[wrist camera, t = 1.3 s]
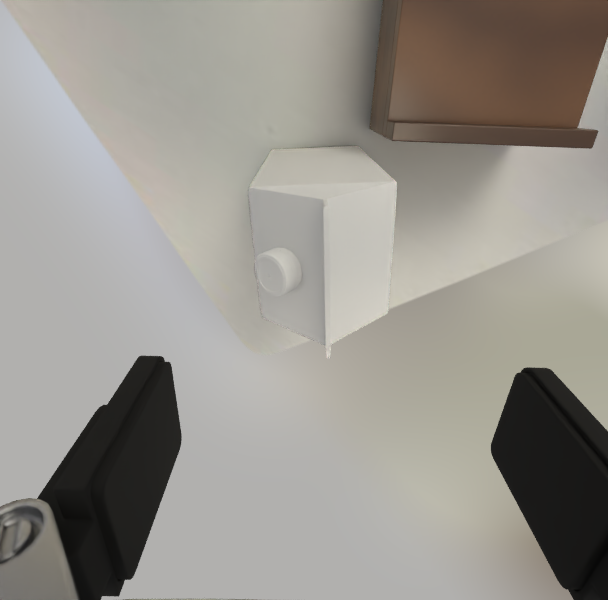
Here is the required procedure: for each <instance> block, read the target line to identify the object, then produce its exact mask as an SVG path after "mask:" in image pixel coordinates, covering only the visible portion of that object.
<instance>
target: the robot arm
mask: <svg viewBox="0 0 608 600" xmlns="http://www.w3.org/2000/svg"><path fill="white" fill-rule="evenodd" d="M180 446H181V429H180V422H179V415H178V408H177V401H176V394H175V389H174V381H173V374H172V367H171V364H170V362H165V361H164V358H163V357H161V356H139V357H138V359H137V360H136V362H135V363H134V365H133V367H132V368H131V369H130V371H129V372H128V374H127V375H126V377H125V379H124V380H123V382H122V383H121V385H120V386H119V388H118V389H117V391H116V392H115V394H114V395H113V397H112V398H111V400H110V401H109V403H108V404H107V405H103V406H101V407H99V409H98V410H97V411H96V412H95V414H94V415H93V417H92V418H91V420H90V421H89V423H88V424H87V426H86V427H85V429H84V430H83V431H82V433H81V434H80V436H79V437H78V439H77V440H76V442H75V443H74V445H73V446H72V448H71V449H70V451H69V452H68V454H67V455H66V457H65V458H64V460H63V461H62V463H61V464H60V465H59V467H58V468H57V470H56V471H55V473H54V474H53V476H52V477H51V479H50V480H49V482H48V483H47V485H46V486H45V488H44V489H43V491H42V492H41V494H40V495H39V497H38V498H37V499H32V498H28V499H21V500H16V501H13V502H11V503H8V504H5V505H3V506H1V507H0V600H101V597H102V596H119V594H120V592H121V589H122V586H123V584H124V581H125V580H127V579H128V580H130V579H132V577H133V576H134V574H135V571H136V569H137V566H138V563H139V560H140V557H141V555H142V552H143V550H144V547H145V544H146V541H147V538H148V536H149V533H150V530H151V527H152V524H153V522H154V519H155V516H156V513H157V511H158V508H159V505H160V502H161V500H162V497H163V494H164V491H165V489H166V486H167V483H168V480H169V477H170V475H171V472H172V469H173V466H174V463H175V461H176V458H177V455H178V452H179V450H180ZM491 453H492V456H493V459H494V461H495V462H496V464H497V466H498V468H499V470H500V472H501V474H502V475H503V478H504V479H505V481H506V483H507V485H508V487H509V489H510V490H511V493H512V495H513V496H514V498H515V500H516V502H517V504H518V506H519V508H520V510H521V512H522V513H523V515H524V517H525V519H526V521H527V523H528V525H529V527H530V529H531V530H532V532H533V534H534V536H535V538H536V540H537V542H538V544H539V546H540V547H541V549H542V551H543V553H544V555H545V557H546V559H547V561H548V563H549V564H550V566H551V568H552V570H553V572H554V574H555V576H556V578H557V580H558V581H559V583H560V584H561V585H562V587H563V588H565V589H568V590H569V592H570V594H571V595H572V597H573V599H574V600H608V431H607V430H606V429H605V428H604V427H603V426H602V425H601V424H600V422H599V421H598V420H596V418H595V417H594V416H593V415H592V414H591V413H590V412H589V411H588V409H587V408H586V407H585V406H584V405H583V404H582V403H581V402H580V401H579V400H578V399H577V397H576V396H575V395H574V394H573V393H572V392H571V391H570V390H569V389H568V388H567V387H566V385H565V384H564V383H563V382H562V381H561V380H560V379H559V378H558V377H557V376H556V375H555V374H554V372H553V371H551V370H550V369H547V368H524V369H523V370H522V371H521V373H517V374H516V375H515V377H514V380H513V384H512V386H511V389H510V392H509V395H508V397H507V400H506V403H505V406H504V409H503V412H502V415H501V417H500V421H499V423H498V426H497V429H496V432H495V434H494V437H493V440H492V443H491ZM126 600H250V599H126ZM251 600H254V599H251Z"/></svg>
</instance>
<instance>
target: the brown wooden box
mask: <svg viewBox="0 0 608 600" xmlns="http://www.w3.org/2000/svg"><path fill="white" fill-rule="evenodd" d="M607 37H608V0H383V3H382V13H381V22H380V32H379V41H378V51H377V61H376V70H375V80H374V89H373V99H372V109H371V118H370V129H371V130H373V131H374V132H376V133H378V134H380V135H382V136H384V137H386V138H388V139H390V140H392V141H410V142H436V143H462V144H488V145H514V146H540V147H566V148H592V147H593V145H594V142H595V139H596V136H597V133H598V130H591V129H582V128H577V127H578V124H579V121H580V118H581V115H582V112H583V109H584V106H585V103H586V100H587V97H588V94H589V91H590V88H591V85H592V82H593V79H594V76H595V73H596V70H597V67H598V64H599V61H600V58H601V55H602V52H603V49H604V46H605V43H606V40H607Z"/></svg>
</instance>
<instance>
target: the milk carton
mask: <svg viewBox="0 0 608 600" xmlns="http://www.w3.org/2000/svg"><path fill="white" fill-rule="evenodd" d="M396 196H397V181H395V180H394V179H393V178H392V177H391V176H390V175H388V174H387V173H386V172H385V171H384V170H383V169H382V168H381V167H380V166H379V165H378V164H377V163H376V162H375V161H374V160H373V159H371V158H370V157H369V156H368V155H367V154H366V153H365V152H364V151H363V150H362V149H361V148H360V147H359V146H338V147H315V148H292V149H272V150H271V151H270V153H269V155H268V156H267V158H266V159H265V161H264V163H263V164H262V166H261V168H260V169H259V171H258V173H257V174H256V176H255V178H254V179H253V181H252V182H251V184H250V186H249V189H248V197H249V209H250V219H251V228H252V237H253V247H254V256H255V264H254V271H255V276H256V279H257V284H258V294H259V302H260V310H261V315H262V317H263V318H264V319H266V320H268V321H270V322H272V323H275V324H277V325H279V326H282V327H284V328H286V329H288V330H291V331H293V332H295V333H297V334H300V335H302V336H304V337H307V338H309V339H311V340H313V341H316V342H318V343H320V344H323V345H325V348H326V358H331V350H330V349H331V348H330V345H331V344H333V343H334V342H336V341H338V340H340V339H342V338H344V337H345V336H347V335H349V334H351V333H353V332H355V331H356V330H358V329H360V328H362V327H363V326H365V325H367V324H369V323H371V322H373V321H375V320H376V319H378V318H380V317H382V316H384V315H385V314H387V313H388V308H389V297H390V282H391V268H392V254H393V239H394V225H395V211H396Z"/></svg>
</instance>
